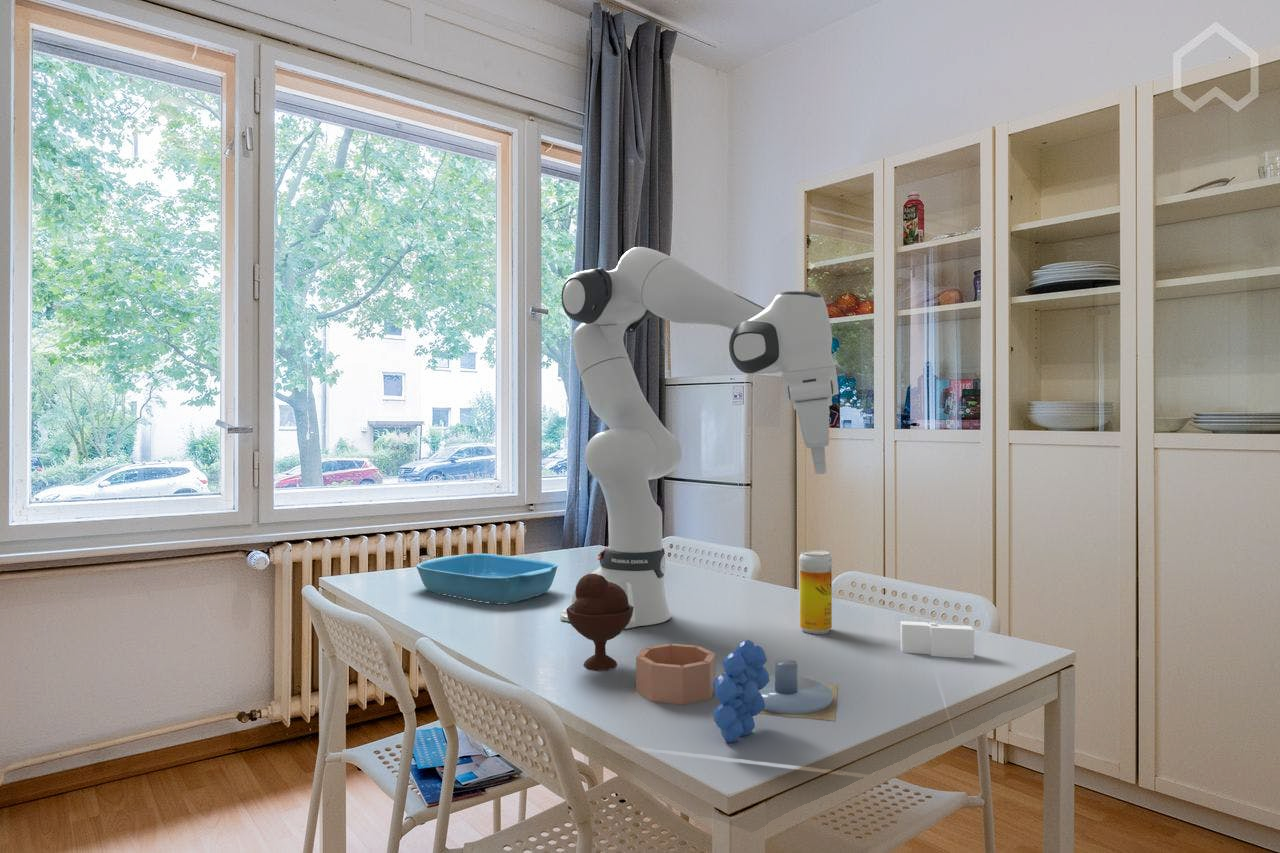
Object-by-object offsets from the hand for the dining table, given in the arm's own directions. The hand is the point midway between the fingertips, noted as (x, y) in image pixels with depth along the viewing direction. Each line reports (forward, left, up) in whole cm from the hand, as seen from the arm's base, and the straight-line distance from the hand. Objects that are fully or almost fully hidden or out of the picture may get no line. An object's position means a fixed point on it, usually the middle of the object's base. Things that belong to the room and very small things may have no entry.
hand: (820, 470), depth 127 cm
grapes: (-9, -33, -32) cm, 47 cm away
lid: (-4, -19, -32) cm, 37 cm away
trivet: (-4, -19, -32) cm, 37 cm away
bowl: (-20, -20, -32) cm, 43 cm away
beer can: (-2, +20, -32) cm, 38 cm away
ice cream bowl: (-35, -11, -32) cm, 49 cm away
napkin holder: (+18, +11, -33) cm, 39 cm away
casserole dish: (-79, +34, -33) cm, 92 cm away
